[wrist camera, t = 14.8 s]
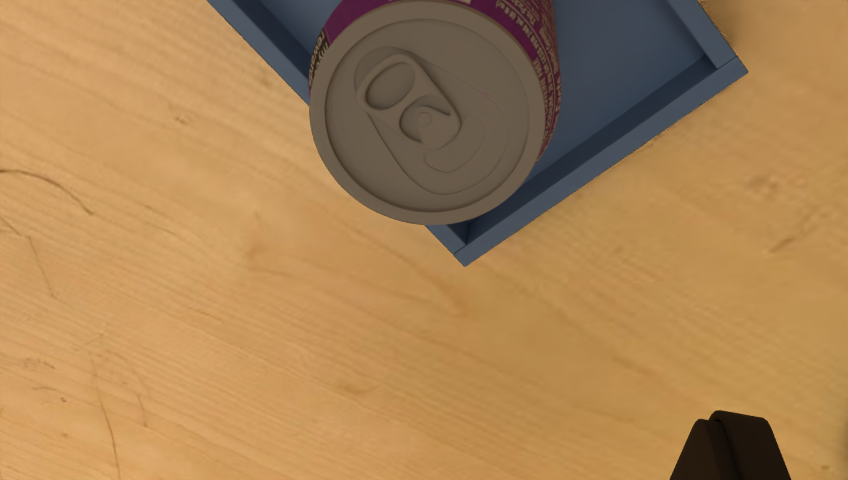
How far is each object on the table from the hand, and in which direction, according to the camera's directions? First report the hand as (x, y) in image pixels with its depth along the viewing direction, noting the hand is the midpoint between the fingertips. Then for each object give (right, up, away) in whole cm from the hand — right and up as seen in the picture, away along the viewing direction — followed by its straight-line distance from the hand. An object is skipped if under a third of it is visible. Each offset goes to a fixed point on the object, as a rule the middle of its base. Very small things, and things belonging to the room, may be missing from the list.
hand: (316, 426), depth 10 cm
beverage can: (+3, +12, +21) cm, 24 cm away
